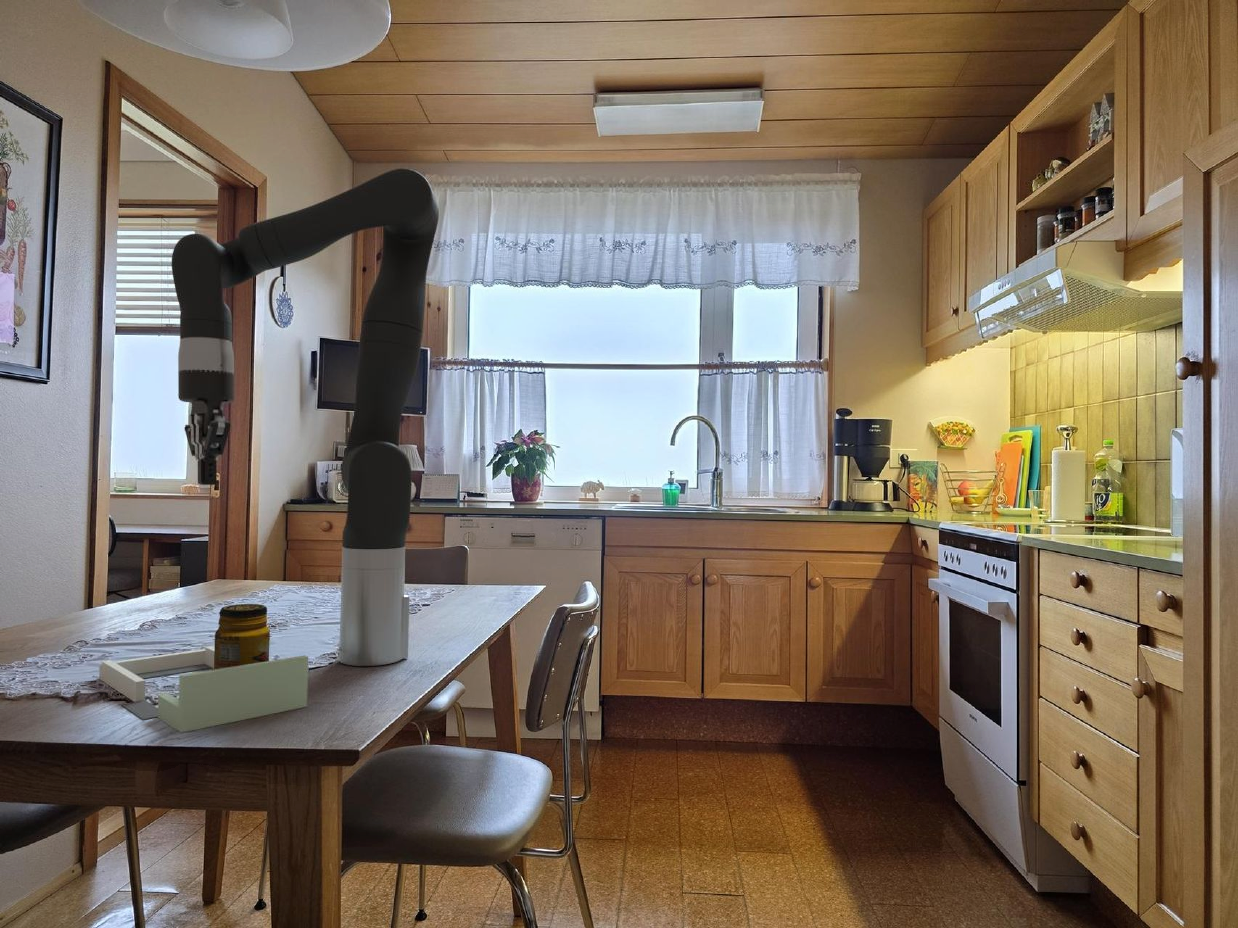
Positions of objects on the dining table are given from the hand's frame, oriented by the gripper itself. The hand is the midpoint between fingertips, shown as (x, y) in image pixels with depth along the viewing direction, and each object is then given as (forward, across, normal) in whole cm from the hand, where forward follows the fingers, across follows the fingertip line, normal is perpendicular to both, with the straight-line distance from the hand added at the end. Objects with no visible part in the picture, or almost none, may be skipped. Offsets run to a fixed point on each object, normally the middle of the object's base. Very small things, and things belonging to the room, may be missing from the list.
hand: (207, 484), depth 119 cm
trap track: (+26, -19, +7) cm, 33 cm away
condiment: (+27, -28, +6) cm, 40 cm away
